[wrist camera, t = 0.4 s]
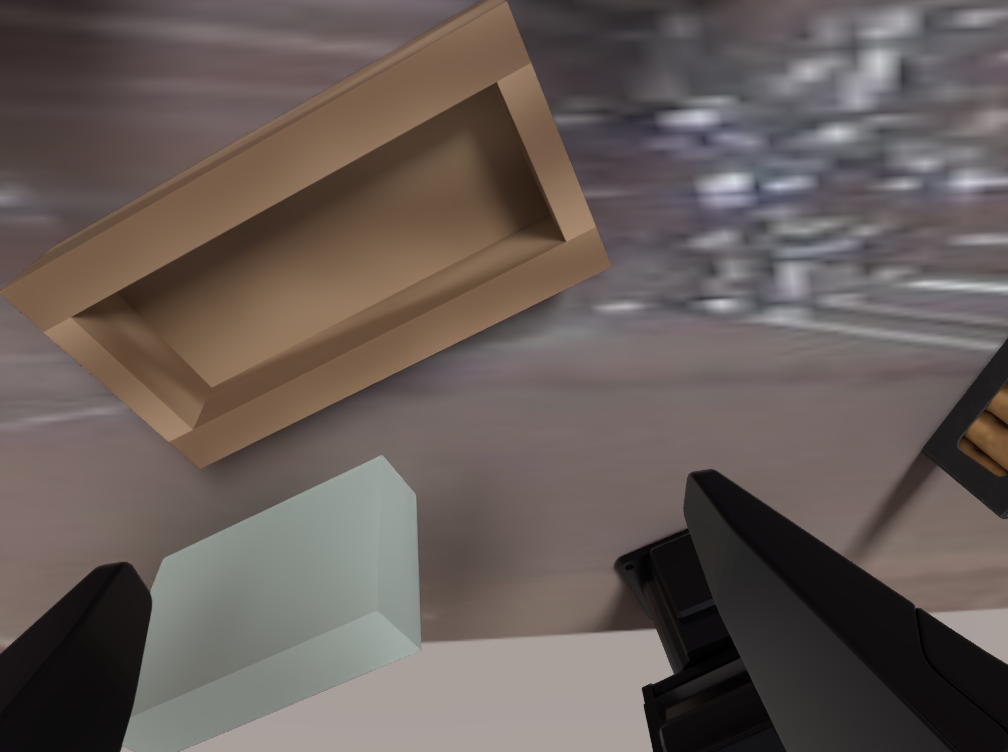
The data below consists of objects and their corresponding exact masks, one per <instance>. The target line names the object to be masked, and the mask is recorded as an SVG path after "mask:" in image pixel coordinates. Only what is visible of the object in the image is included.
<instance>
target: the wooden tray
mask: <svg viewBox="0 0 1008 752" xmlns="http://www.w3.org/2000/svg"><path fill="white" fill-rule="evenodd" d="M610 267H612V266H611V263H610V261H609V258H608V256H607V253H606V251H605V248H604V246H603V243H602V241H601V238H600V236H599V233H598V231H597V228H596V226H595V223H594V220H593V218H592V215H591V213H590V210H589V208H588V205H587V203H586V200H585V198H584V195H583V193H582V190H581V188H580V185H579V182H578V180H577V177H576V175H575V172H574V170H573V167H572V165H571V162H570V160H569V157H568V155H567V152H566V150H565V147H564V144H563V142H562V139H561V137H560V134H559V132H558V129H557V127H556V124H555V122H554V119H553V117H552V114H551V112H550V109H549V107H548V104H547V101H546V99H545V96H544V94H543V91H542V89H541V86H540V84H539V81H538V79H537V76H536V74H535V71H534V69H533V66H532V63H531V61H530V58H529V56H528V53H527V51H526V48H525V46H524V43H523V41H522V38H521V36H520V33H519V31H518V28H517V26H516V23H515V20H514V18H513V15H512V13H511V10H510V8H509V5H508V3H507V1H504V0H481V1H479V2H478V3H476V4H474V5H472V6H471V7H469V8H467V9H465V10H464V11H462V12H460V13H458V14H457V15H455V16H453V17H452V18H450V19H448V20H446V21H445V22H443V23H441V24H439V25H438V26H436V27H434V28H432V29H431V30H429V31H427V32H425V33H424V34H422V35H420V36H418V37H417V38H415V39H413V40H412V41H410V42H408V43H406V44H405V45H403V46H401V47H399V48H398V49H396V50H394V51H392V52H391V53H389V54H387V55H385V56H384V57H382V58H380V59H379V60H377V61H375V62H373V63H372V64H370V65H368V66H366V67H365V68H363V69H361V70H359V71H358V72H356V73H354V74H352V75H351V76H349V77H347V78H345V79H344V80H342V81H340V82H339V83H337V84H335V85H333V86H332V87H330V88H328V89H326V90H325V91H323V92H321V93H319V94H318V95H316V96H314V97H312V98H311V99H309V100H307V101H305V102H304V103H302V104H300V105H299V106H297V107H295V108H293V109H292V110H290V111H288V112H286V113H285V114H283V115H281V116H279V117H278V118H276V119H274V120H272V121H271V122H269V123H267V124H265V125H264V126H262V127H260V128H259V129H257V130H255V131H253V132H252V133H250V134H248V135H246V136H245V137H243V138H241V139H239V140H238V141H236V142H234V143H232V144H231V145H229V146H227V147H226V148H224V149H222V150H220V151H219V152H217V153H215V154H213V155H212V156H210V157H208V158H206V159H205V160H203V161H201V162H199V163H198V164H196V165H194V166H192V167H191V168H189V169H187V170H186V171H184V172H182V173H180V174H179V175H177V176H175V177H173V178H172V179H170V180H168V181H166V182H165V183H163V184H161V185H159V186H158V187H156V188H154V189H152V190H151V191H149V192H147V193H146V194H144V195H142V196H140V197H139V198H137V199H135V200H133V201H132V202H130V203H128V204H126V205H125V206H123V207H121V208H119V209H118V210H116V211H114V212H112V213H111V214H109V215H107V216H106V217H104V218H102V219H100V220H99V221H97V222H95V223H93V224H92V225H90V226H88V227H86V228H85V229H83V230H81V231H79V232H78V233H76V234H74V235H73V236H71V237H69V238H67V239H66V240H64V241H62V242H60V243H59V244H57V245H55V246H54V247H53V248H52V249H50V250H49V251H48V252H47V253H46V254H44V255H43V256H42V257H41V258H39V259H38V260H37V261H36V262H34V263H33V264H32V265H31V266H29V267H28V268H27V269H26V270H24V271H23V272H22V273H21V274H20V275H18V276H17V277H16V278H15V279H13V280H12V281H11V282H10V283H8V284H7V285H6V286H5V287H3V288H2V289H1V290H0V295H2V296H3V297H4V298H5V299H6V300H7V301H8V302H10V303H11V304H12V305H13V306H14V307H15V308H16V309H18V310H19V311H20V312H21V313H22V314H23V315H24V316H26V317H27V318H28V319H29V320H30V321H31V322H32V323H34V324H35V325H36V326H37V327H38V328H39V329H40V330H42V331H43V332H44V333H45V334H46V335H47V336H48V337H50V338H51V339H52V340H53V341H54V342H55V343H56V344H58V345H59V346H60V347H61V348H62V349H63V350H64V351H66V352H67V353H68V354H69V355H70V356H71V357H72V358H74V359H75V360H76V361H77V362H78V363H79V364H80V365H82V366H83V367H84V368H85V369H86V370H87V371H88V372H90V373H91V374H92V375H93V376H94V377H95V378H96V379H98V380H99V381H100V382H101V383H102V384H103V385H104V386H106V387H107V388H108V389H109V390H110V391H111V392H112V393H113V394H115V395H116V396H117V397H118V398H119V399H120V400H121V401H123V402H124V403H125V404H126V405H127V406H128V407H129V408H131V409H132V410H133V411H134V412H135V413H136V414H137V415H139V416H140V417H141V418H142V419H143V420H144V421H145V422H147V423H148V424H149V425H150V426H151V427H152V428H153V429H155V430H156V431H157V432H158V433H159V434H160V435H161V436H163V437H164V438H165V439H166V440H167V441H168V442H169V443H171V444H172V445H173V446H174V447H175V448H176V449H177V450H179V451H180V452H181V453H182V454H183V455H184V456H185V457H187V458H188V459H189V460H190V461H191V462H192V463H193V464H195V465H196V466H197V467H198V468H199V469H201V468H203V467H205V466H207V465H209V464H211V463H214V462H216V461H218V460H220V459H222V458H224V457H226V456H228V455H230V454H232V453H234V452H236V451H238V450H240V449H242V448H244V447H246V446H248V445H250V444H252V443H254V442H256V441H258V440H260V439H262V438H264V437H266V436H268V435H270V434H272V433H275V432H277V431H279V430H281V429H283V428H285V427H287V426H289V425H291V424H293V423H295V422H297V421H299V420H301V419H303V418H305V417H307V416H309V415H311V414H313V413H315V412H317V411H319V410H321V409H323V408H325V407H327V406H329V405H331V404H333V403H336V402H338V401H340V400H342V399H344V398H346V397H348V396H350V395H352V394H354V393H356V392H358V391H360V390H362V389H364V388H366V387H368V386H370V385H372V384H374V383H376V382H378V381H380V380H382V379H384V378H386V377H388V376H390V375H392V374H394V373H397V372H399V371H401V370H403V369H405V368H407V367H409V366H411V365H413V364H415V363H417V362H419V361H421V360H423V359H425V358H427V357H429V356H431V355H433V354H435V353H437V352H439V351H441V350H443V349H445V348H447V347H449V346H451V345H453V344H455V343H457V342H460V341H462V340H464V339H466V338H468V337H470V336H472V335H474V334H476V333H478V332H480V331H482V330H484V329H486V328H488V327H490V326H492V325H494V324H496V323H498V322H500V321H502V320H504V319H506V318H508V317H510V316H512V315H514V314H516V313H518V312H521V311H523V310H525V309H527V308H529V307H531V306H533V305H535V304H537V303H539V302H541V301H543V300H545V299H547V298H549V297H551V296H553V295H555V294H557V293H559V292H561V291H563V290H565V289H567V288H569V287H571V286H573V285H575V284H577V283H579V282H582V281H584V280H586V279H588V278H590V277H592V276H594V275H596V274H598V273H600V272H602V271H604V270H606V269H608V268H610Z"/></svg>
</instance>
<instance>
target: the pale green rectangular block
mask: <svg viewBox="0 0 1008 752" xmlns="http://www.w3.org/2000/svg"><path fill="white" fill-rule="evenodd" d="M150 593H151V597H152V612H151V618H150V623H149V628H148V634H147V639H146V645H145V650H144V655H143V661H142V666H141V672H140V677H139V682H138V688H137V692H136V697H135V702H134V706H133V710H132V713H131V717H130V721H129V724H128V727H127V731H126V734H125V737H124V741H123V744H122V746H123V747H125V748H127V749H129V750H132V751H134V752H179V751H181V750H184V749H186V748H189V747H191V746H193V745H196V744H198V743H201V742H203V741H206V740H208V739H210V738H213V737H215V736H218V735H220V734H222V733H225V732H227V731H230V730H232V729H234V728H237V727H239V726H242V725H244V724H246V723H249V722H251V721H253V720H256V719H258V718H261V717H263V716H265V715H268V714H270V713H273V712H275V711H277V710H280V709H282V708H284V707H287V706H289V705H292V704H294V703H297V702H299V701H301V700H304V699H306V698H308V697H311V696H313V695H316V694H318V693H320V692H323V691H325V690H328V689H330V688H332V687H335V686H337V685H340V684H342V683H344V682H347V681H349V680H351V679H354V678H356V677H359V676H361V675H364V674H366V673H368V672H371V671H373V670H376V669H378V668H380V667H382V666H385V665H387V664H390V663H392V662H395V661H397V660H399V659H402V658H404V657H407V656H409V655H411V654H414V653H416V652H419V651H421V623H420V594H419V565H418V536H417V506H416V494H415V493H414V492H413V491H412V490H411V488H410V487H409V486H408V485H407V484H406V482H405V481H404V480H403V479H402V478H401V477H400V475H399V474H398V473H397V472H396V471H395V469H394V468H393V467H392V466H391V465H390V464H389V462H388V461H387V460H386V459H385V458H384V456H383V455H381V456H379V457H377V458H375V459H373V460H370V461H368V462H366V463H364V464H362V465H360V466H358V467H356V468H354V469H351V470H349V471H347V472H345V473H343V474H341V475H339V476H337V477H334V478H332V479H330V480H328V481H326V482H324V483H322V484H320V485H318V486H315V487H313V488H311V489H309V490H307V491H305V492H303V493H301V494H298V495H296V496H294V497H292V498H290V499H288V500H286V501H284V502H282V503H279V504H277V505H275V506H273V507H271V508H269V509H267V510H265V511H262V512H260V513H258V514H256V515H254V516H252V517H250V518H248V519H246V520H243V521H241V522H239V523H237V524H235V525H233V526H231V527H229V528H226V529H224V530H222V531H220V532H218V533H216V534H214V535H212V536H210V537H207V538H205V539H203V540H201V541H199V542H197V543H195V544H193V545H190V546H188V547H186V548H184V549H182V550H180V551H178V552H176V553H174V554H171V555H169V556H167V557H165V558H163V561H162V563H161V566H160V568H159V571H158V573H157V576H156V578H155V581H154V583H153V586H152V588H151V591H150Z"/></svg>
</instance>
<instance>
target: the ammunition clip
mask: <svg viewBox="0 0 1008 752" xmlns="http://www.w3.org/2000/svg"><path fill="white" fill-rule="evenodd" d="M922 449H923V453H924V454H925V455H926V456H927V457H928V458H930V459H931V460H932V461H933V462H934V463H936V464H937V465H938V466H939V467H940V468H942V469H943V470H944V471H945V472H946V473H948V474H949V475H950V476H951V477H952V478H954V479H955V480H956V481H957V482H958V483H959V484H961V485H962V486H963V487H964V488H965V489H967V490H968V491H969V492H970V493H971V494H973V495H974V496H975V497H976V498H977V499H979V500H980V501H981V502H982V503H983V504H985V505H986V506H987V507H988V508H989V509H990V510H992V511H993V512H994V513H995V514H996V515H998V516H999V517H1000V518H1002V519H1008V339H1007V340H1006V341H1005V343H1004V344H1003V345H1002V346H1001V348H1000V349H999V350H998V352H997V353H996V354H995V356H994V357H993V358H992V359H991V361H990V362H989V363H988V365H987V366H986V367H985V368H984V370H983V371H982V372H981V374H980V375H979V376H978V377H977V379H976V380H975V381H974V383H973V384H972V385H971V386H970V388H969V389H968V390H967V392H966V393H965V394H964V395H963V397H962V398H961V399H960V401H959V402H958V403H957V404H956V406H955V407H954V408H953V410H952V411H951V412H950V414H949V415H948V416H947V417H946V419H945V420H944V421H943V423H942V424H941V425H940V426H939V428H938V429H937V430H936V432H935V433H934V434H933V435H932V437H931V438H930V439H929V441H928V442H927V443H926V444H925V446H924V447H923V448H922Z"/></svg>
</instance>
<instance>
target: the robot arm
mask: <svg viewBox="0 0 1008 752" xmlns="http://www.w3.org/2000/svg"><path fill="white" fill-rule="evenodd" d="M683 509H684V517H685V520H686V523H687V526H688V529H689V530H686V531H684V532H681V533H679V534H677V535H674V536H672V537H670V538H667V539H665V540H662V541H660V542H658V543H655V544H653V545H650V546H648V547H646V548H643V549H641V550H639V551H636V552H634V553H631V554H629V555H627V556H624V557H623V558H621V559H620V560H619V562H618V563H619V566H620V569H621V571H622V573H623V575H624V576H625V578H626V580H627V581H628V583H629V585H630V587H631V588H632V590H633V592H634V593H635V595H636V597H637V598H638V600H639V602H640V603H641V605H642V607H643V608H644V610H645V612H646V613H647V615H648V617H649V618H650V619H651V620H653V622H654V624H655V627H656V629H657V632H658V634H659V637H660V640H661V642H662V644H663V647H664V650H665V652H666V655H667V657H668V660H669V663H670V665H671V668H672V670H673V673H674V675H672V676H670V677H668V678H666V679H664V680H662V681H660V682H657V683H655V684H649V685H646V686H644V687H642V692H643V697H644V702H645V704H644V710H645V714H646V719H647V724H648V729H649V733H650V739H651V743H652V748H653V752H1008V664H1006V663H1004V662H1002V661H1001V660H999V659H998V658H996V657H994V656H993V655H991V654H989V653H988V652H986V651H984V650H983V649H981V648H980V647H978V646H977V645H975V644H974V643H972V642H971V641H969V640H968V639H966V638H964V637H963V636H961V635H960V634H958V633H957V632H955V631H954V630H952V629H951V628H949V627H948V626H946V625H945V624H943V623H942V622H940V621H939V620H937V619H936V618H934V617H933V616H931V615H930V614H928V613H927V612H925V611H924V610H922V609H921V608H916V609H915V605H914V604H913V603H912V602H910V601H909V600H907V599H906V598H904V597H903V596H901V595H900V594H898V593H897V592H895V591H894V590H892V589H891V588H889V587H888V586H886V585H885V584H884V583H882V582H881V581H879V580H878V579H876V578H875V577H873V576H872V575H870V574H869V573H867V572H866V571H864V570H863V569H861V568H860V567H858V566H857V565H855V564H854V563H852V562H851V561H850V560H848V559H847V558H845V557H844V556H842V555H841V554H839V553H838V552H836V551H835V550H833V549H832V548H830V547H829V546H827V545H826V544H824V543H823V542H821V541H820V540H818V539H817V538H815V537H814V536H813V535H811V534H810V533H808V532H807V531H805V530H804V529H802V528H801V527H799V526H798V525H796V524H795V523H793V522H792V521H790V520H789V519H787V518H786V517H784V516H783V515H781V514H780V513H778V512H777V511H776V510H774V509H773V508H771V507H770V506H768V505H767V504H765V503H764V502H762V501H761V500H759V499H758V498H756V497H755V496H753V495H752V494H750V493H749V492H747V491H746V490H744V489H743V488H741V487H740V486H739V485H737V484H736V483H734V482H733V481H731V480H730V479H728V478H727V477H725V476H724V475H722V474H721V473H719V472H718V471H716V470H713V469H707V470H701V471H694V472H691V473H690V474H689V475H688V477H687V483H686V490H685V498H684V507H683ZM151 612H152V597H151V593H150V591H149V590H148V588H147V587H146V585H145V584H144V582H143V581H142V579H141V578H140V576H139V575H138V573H137V572H136V570H135V569H134V567H133V566H132V565H131V564H130V563H128V562H118V563H111V564H105V565H101V566H98V567H97V568H95V569H94V570H93V571H91V572H90V573H89V574H88V575H87V576H86V577H85V578H84V579H83V580H81V581H80V582H79V583H78V584H77V585H76V586H75V587H74V588H73V589H72V590H70V591H69V592H68V593H67V594H66V595H65V596H64V597H63V598H62V599H60V600H59V601H58V602H57V603H56V604H55V605H54V606H53V607H52V608H51V609H49V610H48V611H47V612H46V613H45V614H44V615H43V616H42V617H41V618H39V619H38V620H37V621H36V622H35V623H34V624H33V625H32V626H31V627H30V628H28V629H27V630H26V631H25V632H24V633H23V634H22V635H21V636H20V637H18V638H17V639H16V640H15V641H14V642H13V643H12V644H11V645H10V646H9V647H7V648H6V649H5V650H4V651H3V652H2V653H1V654H0V752H120V751H121V747H122V744H123V741H124V737H125V734H126V731H127V727H128V724H129V721H130V717H131V713H132V710H133V706H134V702H135V697H136V692H137V688H138V682H139V677H140V672H141V666H142V661H143V655H144V650H145V645H146V639H147V634H148V628H149V623H150V618H151Z"/></svg>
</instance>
